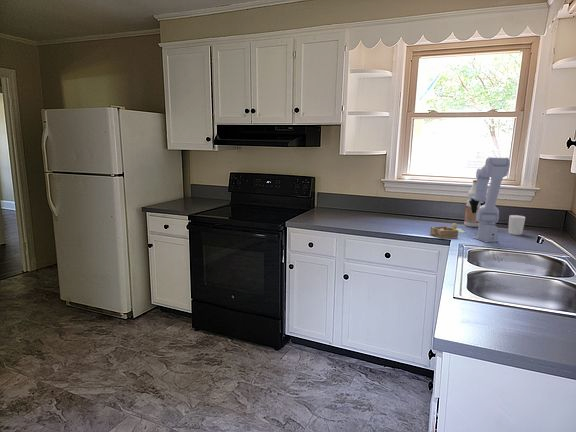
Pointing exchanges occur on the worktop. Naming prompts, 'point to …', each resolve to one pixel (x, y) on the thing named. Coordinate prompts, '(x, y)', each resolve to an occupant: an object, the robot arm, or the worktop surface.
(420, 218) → the worktop surface
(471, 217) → the fruit juice
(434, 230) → the box
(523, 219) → the white cup
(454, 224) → the lid
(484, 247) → the worktop surface
